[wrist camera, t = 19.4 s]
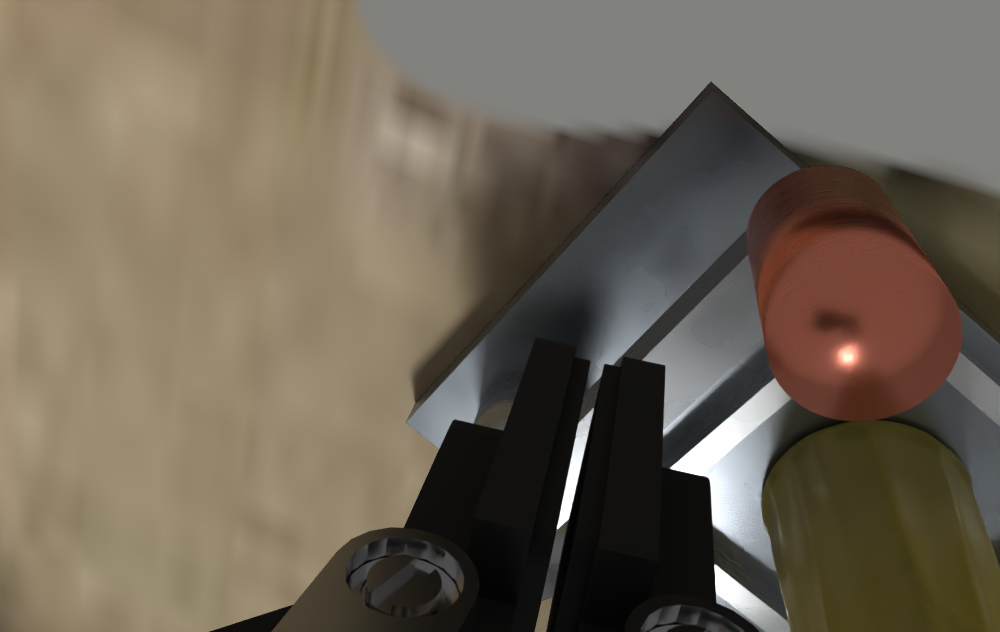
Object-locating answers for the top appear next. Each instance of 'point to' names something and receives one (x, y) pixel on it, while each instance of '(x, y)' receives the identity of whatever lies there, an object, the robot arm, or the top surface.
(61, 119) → the top surface
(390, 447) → the top surface
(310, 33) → the top surface
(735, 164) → the bed
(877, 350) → the lever
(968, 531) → the vase
